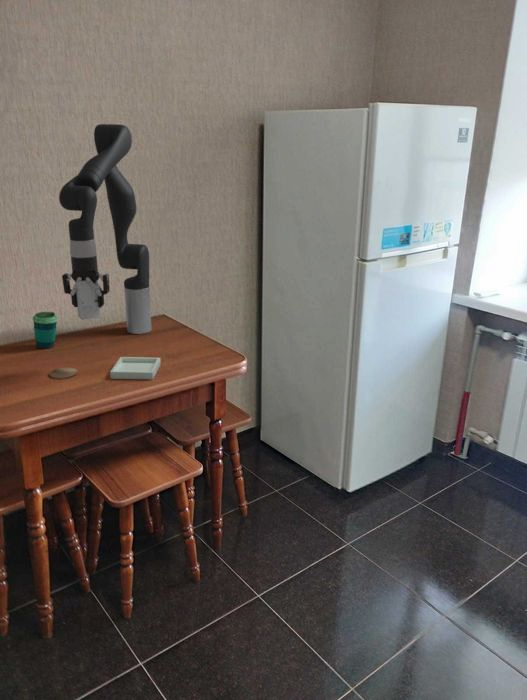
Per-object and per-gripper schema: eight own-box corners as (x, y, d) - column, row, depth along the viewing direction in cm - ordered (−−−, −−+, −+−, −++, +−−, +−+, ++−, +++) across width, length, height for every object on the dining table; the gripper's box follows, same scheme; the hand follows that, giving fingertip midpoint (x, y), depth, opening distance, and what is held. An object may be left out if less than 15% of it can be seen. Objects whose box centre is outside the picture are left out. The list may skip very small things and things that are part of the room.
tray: (121, 363, 186) (120, 357, 186) (160, 363, 186) (160, 357, 186) (110, 378, 174) (110, 371, 173) (152, 379, 174) (152, 372, 173)
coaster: (55, 369, 181) (55, 367, 181) (80, 369, 181) (80, 367, 181) (46, 378, 173) (45, 376, 173) (72, 379, 173) (72, 377, 173)
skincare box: (81, 320, 175) (77, 282, 171) (77, 316, 179) (73, 279, 175) (101, 317, 179) (98, 279, 174) (96, 314, 182) (93, 276, 178)
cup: (46, 341, 206) (42, 309, 201) (65, 344, 203) (61, 312, 199) (31, 348, 198) (26, 315, 194) (50, 351, 196) (46, 318, 192)
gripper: (110, 252, 175) (114, 304, 181) (64, 251, 176) (69, 303, 181) (103, 257, 168) (107, 310, 174) (55, 256, 169) (61, 309, 174)
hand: (88, 306), depth 178 cm, fingers closed on skincare box, 7 cm apart
